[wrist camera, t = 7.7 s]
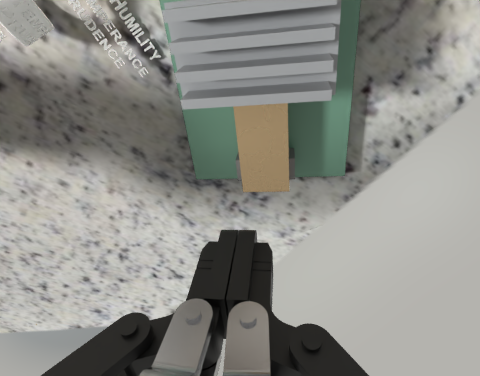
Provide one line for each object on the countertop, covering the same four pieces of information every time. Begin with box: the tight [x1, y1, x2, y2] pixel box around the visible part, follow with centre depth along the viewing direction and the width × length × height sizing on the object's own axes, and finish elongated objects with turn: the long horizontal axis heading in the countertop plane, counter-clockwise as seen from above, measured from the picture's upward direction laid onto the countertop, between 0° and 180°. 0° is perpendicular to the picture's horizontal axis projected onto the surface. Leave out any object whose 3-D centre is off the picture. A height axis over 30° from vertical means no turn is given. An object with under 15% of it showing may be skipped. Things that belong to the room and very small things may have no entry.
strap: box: [233, 103, 289, 192], centre depth 25 cm, size 8×4×1 cm, turn 6°
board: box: [160, 0, 361, 180], centre depth 21 cm, size 24×14×8 cm, turn 6°
